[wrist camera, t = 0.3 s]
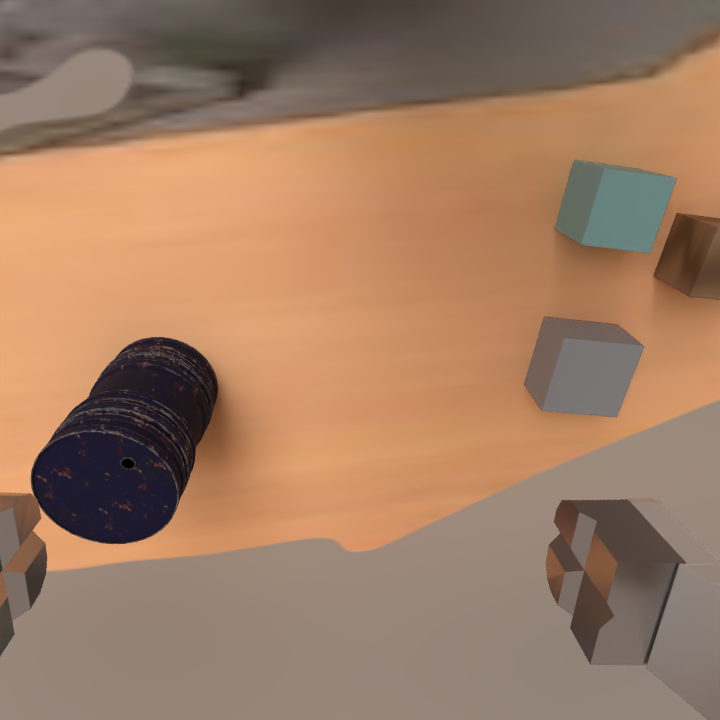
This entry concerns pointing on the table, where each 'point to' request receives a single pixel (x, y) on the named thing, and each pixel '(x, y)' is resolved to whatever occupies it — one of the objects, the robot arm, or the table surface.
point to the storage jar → (128, 444)
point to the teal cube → (613, 206)
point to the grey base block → (582, 367)
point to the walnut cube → (692, 256)
